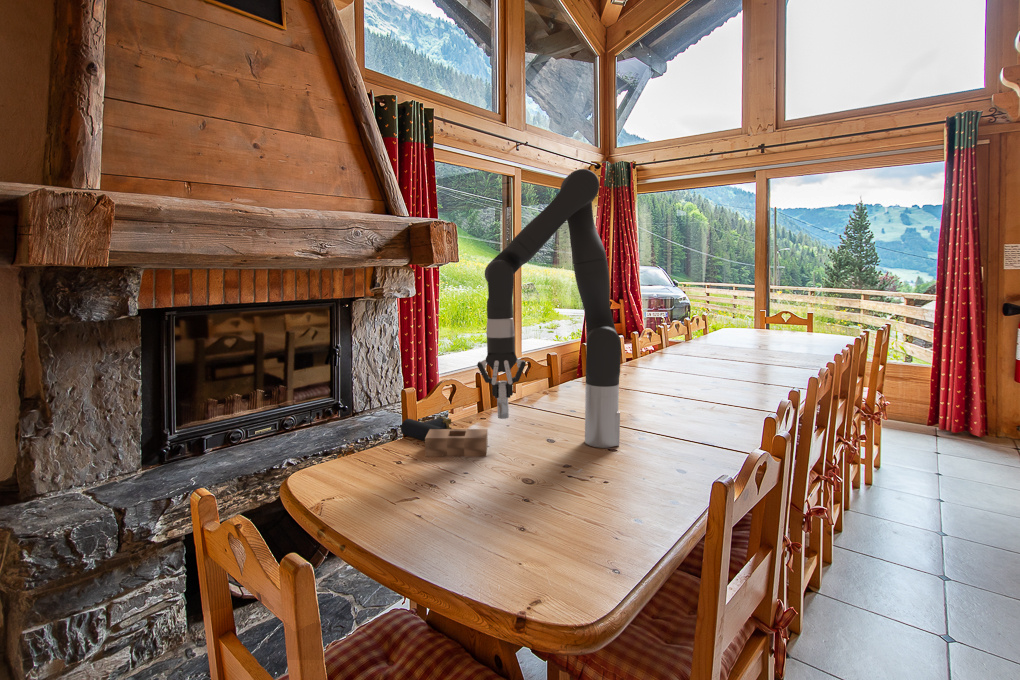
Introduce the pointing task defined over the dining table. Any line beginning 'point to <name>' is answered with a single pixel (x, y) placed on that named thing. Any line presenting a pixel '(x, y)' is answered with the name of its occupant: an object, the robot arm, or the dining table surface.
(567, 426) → the dining table surface
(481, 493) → the dining table surface
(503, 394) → the pin
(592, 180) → the robot arm
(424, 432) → the pipe connector
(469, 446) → the socket block
